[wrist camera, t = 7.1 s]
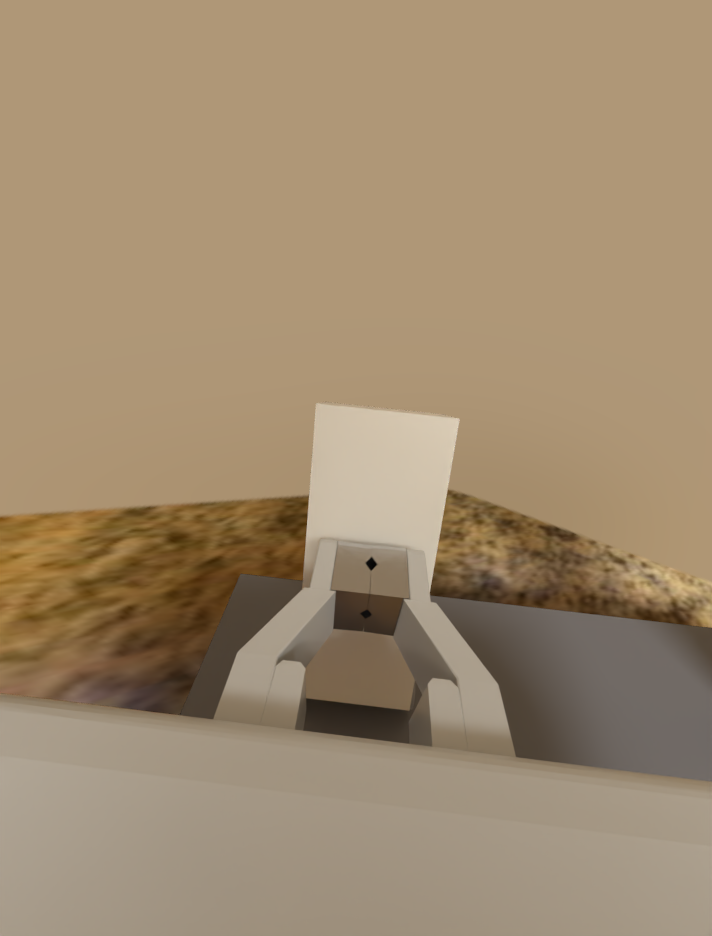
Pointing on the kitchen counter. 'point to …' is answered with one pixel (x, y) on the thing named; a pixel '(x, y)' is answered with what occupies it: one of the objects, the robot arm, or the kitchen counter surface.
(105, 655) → the kitchen counter surface
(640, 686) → the switch box
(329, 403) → the lever
